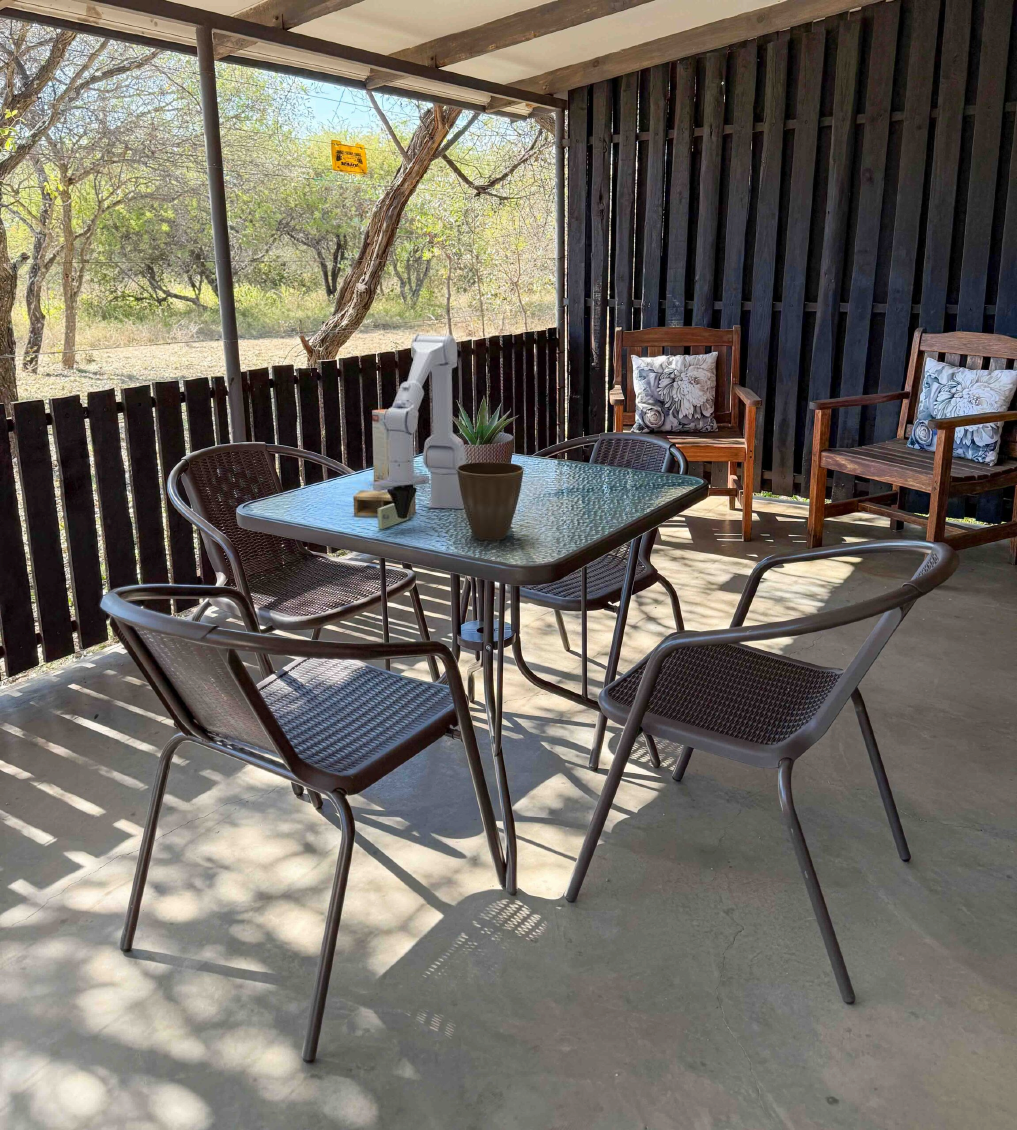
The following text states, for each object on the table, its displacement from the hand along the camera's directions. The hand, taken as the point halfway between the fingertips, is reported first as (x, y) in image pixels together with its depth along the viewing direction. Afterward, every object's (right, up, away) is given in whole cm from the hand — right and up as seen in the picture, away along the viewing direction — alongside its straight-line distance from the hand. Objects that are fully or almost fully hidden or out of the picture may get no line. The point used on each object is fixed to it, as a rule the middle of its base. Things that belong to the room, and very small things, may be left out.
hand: (402, 517), depth 223 cm
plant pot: (+21, -5, -6) cm, 22 cm away
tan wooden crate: (-6, +2, +15) cm, 16 cm away
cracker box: (-8, +11, +49) cm, 51 cm away
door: (-2, -1, +5) cm, 5 cm away
